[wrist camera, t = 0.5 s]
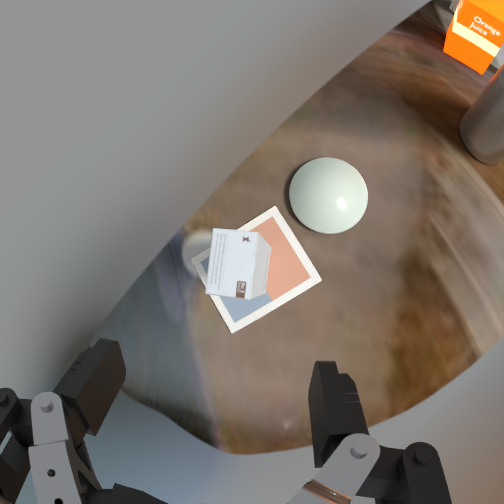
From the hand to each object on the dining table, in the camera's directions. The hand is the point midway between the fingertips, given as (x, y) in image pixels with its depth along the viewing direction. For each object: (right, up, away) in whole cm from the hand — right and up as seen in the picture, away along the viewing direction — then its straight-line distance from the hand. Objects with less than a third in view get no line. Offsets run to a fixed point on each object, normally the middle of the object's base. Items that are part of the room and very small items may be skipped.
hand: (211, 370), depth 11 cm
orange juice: (+42, +42, +24) cm, 64 cm away
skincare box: (+2, +2, +26) cm, 27 cm away
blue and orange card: (+2, +2, +26) cm, 27 cm away
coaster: (+11, +12, +26) cm, 31 cm away
